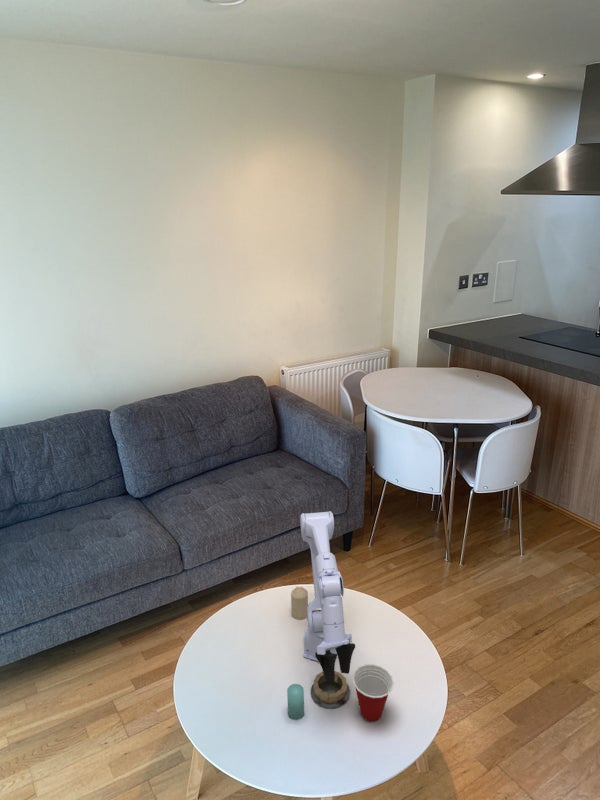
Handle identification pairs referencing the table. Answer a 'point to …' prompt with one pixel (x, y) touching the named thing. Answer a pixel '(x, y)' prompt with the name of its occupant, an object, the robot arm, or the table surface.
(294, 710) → the peg
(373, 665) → the plastic cup
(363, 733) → the table surface
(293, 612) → the candle
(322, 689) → the ring holder
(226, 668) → the table surface
